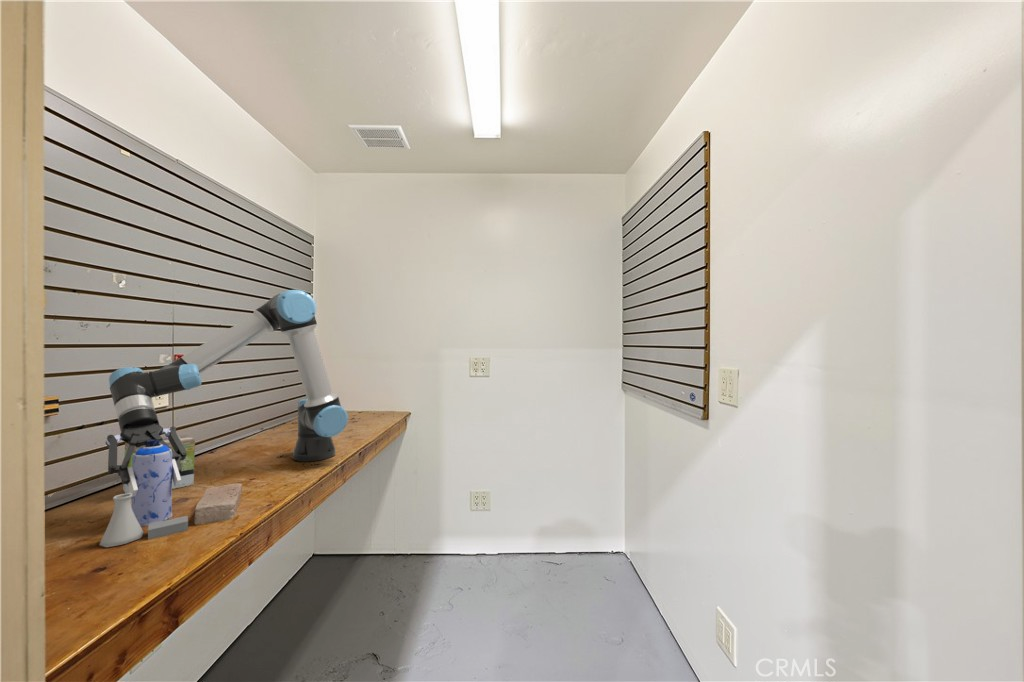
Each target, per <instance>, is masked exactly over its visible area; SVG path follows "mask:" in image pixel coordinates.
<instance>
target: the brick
mask: <svg viewBox="0 0 1024 682" xmlns="http://www.w3.org/2000/svg"><path fill="white" fill-rule="evenodd" d="M242 489H243V484H242V483H241V482H240V483H239V482H238V483H237V482H236V483H229V484H224V485H220V486H217V485H216V486H214V487H207V488H206V489H205V490H204V493H203V495H202V497H201V498H200V500H199V501H198V503H197V504H196V506H195V508H194V525H195V526H199V525H198V524H201V525H206V524H205V523H207V524H211V522H212V523H217V522H216V521H219V522H224V521H225V520H226V521H231V520H233V519H234V518H235V516H236V512H237V510H238V507H239V504H240V501H241V497H242V492H243V491H242ZM230 519H231V520H230Z"/></svg>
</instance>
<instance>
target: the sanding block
mask: <svg viewBox="0 0 1024 682" xmlns="http://www.w3.org/2000/svg"><path fill="white" fill-rule="evenodd" d="M147 528H148V529H147V540H148V541H149V540H153V539H157V538H161V537H167V536H171V535H175V534H178V532H179V533H182V532H183V533H184V532H187V531H186V530H188V531H189V518H188V515H185V516H179V517H176V518H169V519H168V520H165V521H161V522H156V523H151V524H149V525H148V526H147ZM174 533H175V534H174ZM170 534H171V535H170Z"/></svg>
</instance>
